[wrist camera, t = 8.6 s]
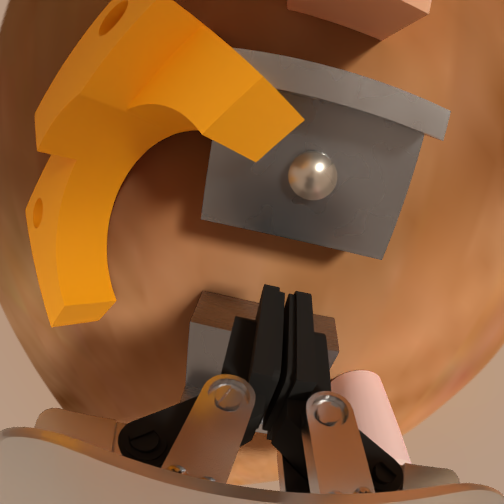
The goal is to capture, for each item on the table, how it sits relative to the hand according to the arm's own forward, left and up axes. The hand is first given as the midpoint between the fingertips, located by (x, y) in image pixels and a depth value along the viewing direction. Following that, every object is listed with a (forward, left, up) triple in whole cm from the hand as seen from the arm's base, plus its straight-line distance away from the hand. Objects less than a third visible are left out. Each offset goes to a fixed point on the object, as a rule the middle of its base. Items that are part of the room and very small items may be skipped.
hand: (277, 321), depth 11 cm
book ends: (0, 0, -4) cm, 4 cm away
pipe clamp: (-6, -10, -3) cm, 12 cm away
